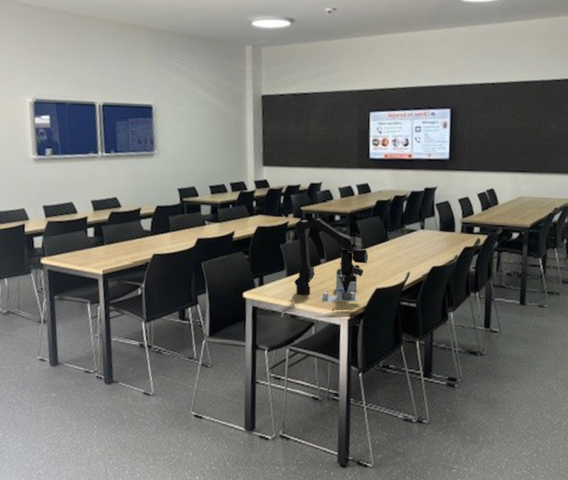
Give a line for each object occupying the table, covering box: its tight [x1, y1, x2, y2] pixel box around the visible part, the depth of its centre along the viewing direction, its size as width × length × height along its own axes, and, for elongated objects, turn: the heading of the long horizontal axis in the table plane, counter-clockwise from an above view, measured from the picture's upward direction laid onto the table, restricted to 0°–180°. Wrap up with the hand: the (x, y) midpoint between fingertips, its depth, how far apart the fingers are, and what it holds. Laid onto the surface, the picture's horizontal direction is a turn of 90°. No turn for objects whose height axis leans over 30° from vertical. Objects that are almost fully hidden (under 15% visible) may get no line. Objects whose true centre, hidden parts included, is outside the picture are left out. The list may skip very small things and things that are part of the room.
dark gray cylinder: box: [342, 291, 351, 300], centre depth 305 cm, size 6×4×4 cm, turn 6°
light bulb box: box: [335, 270, 358, 292], centre depth 324 cm, size 11×7×11 cm, turn 92°
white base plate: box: [319, 288, 359, 303], centre depth 305 cm, size 18×12×5 cm, turn 97°
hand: (345, 291), depth 305 cm, fingers closed
